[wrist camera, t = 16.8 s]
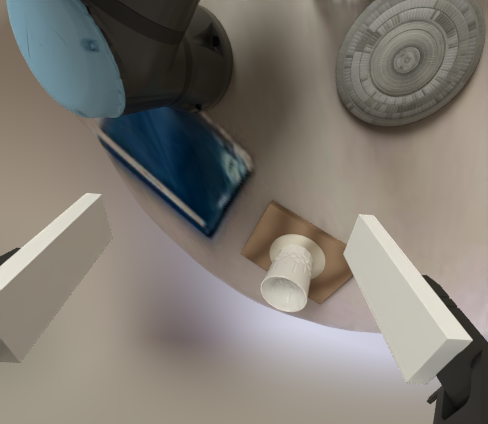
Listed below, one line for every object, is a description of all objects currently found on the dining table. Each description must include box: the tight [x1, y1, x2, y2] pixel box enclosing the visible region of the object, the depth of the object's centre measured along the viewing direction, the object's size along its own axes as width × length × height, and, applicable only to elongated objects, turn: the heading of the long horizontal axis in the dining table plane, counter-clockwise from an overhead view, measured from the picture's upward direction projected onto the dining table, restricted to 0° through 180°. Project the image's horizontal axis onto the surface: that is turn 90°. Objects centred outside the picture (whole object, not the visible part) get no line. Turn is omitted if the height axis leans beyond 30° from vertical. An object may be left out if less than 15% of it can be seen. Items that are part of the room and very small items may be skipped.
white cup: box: [260, 244, 313, 312], centre depth 44 cm, size 8×8×10 cm
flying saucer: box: [336, 0, 485, 127], centre depth 28 cm, size 15×15×6 cm
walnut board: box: [241, 200, 353, 304], centre depth 49 cm, size 20×15×2 cm
